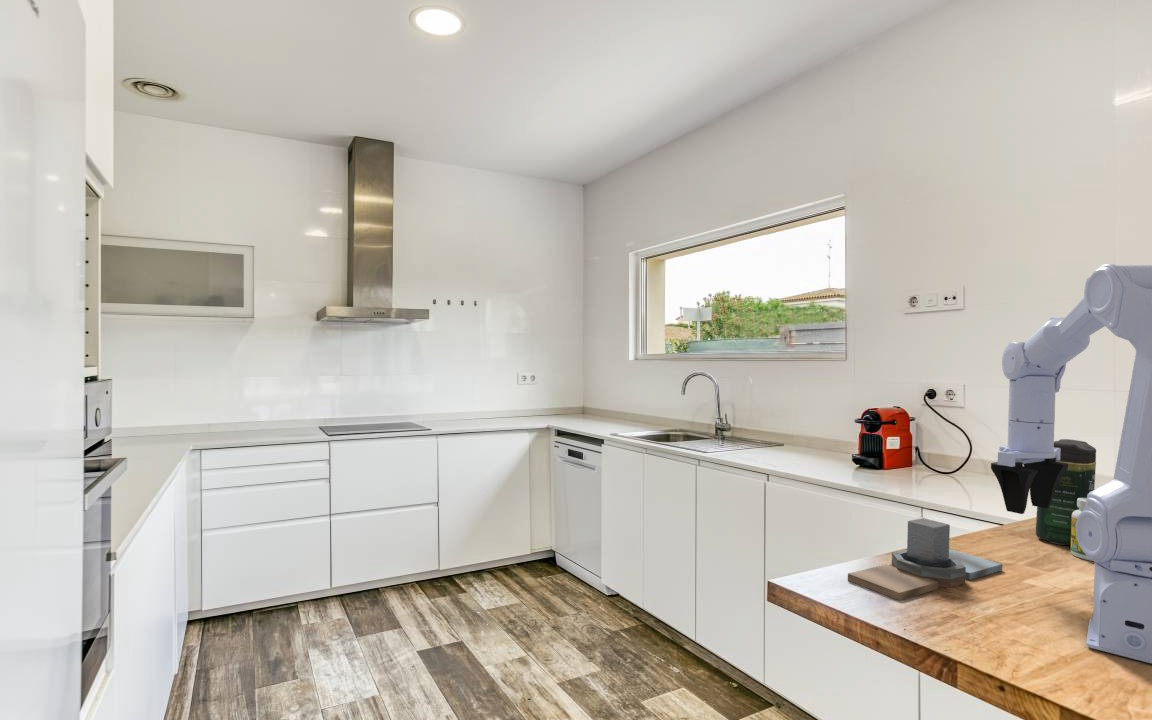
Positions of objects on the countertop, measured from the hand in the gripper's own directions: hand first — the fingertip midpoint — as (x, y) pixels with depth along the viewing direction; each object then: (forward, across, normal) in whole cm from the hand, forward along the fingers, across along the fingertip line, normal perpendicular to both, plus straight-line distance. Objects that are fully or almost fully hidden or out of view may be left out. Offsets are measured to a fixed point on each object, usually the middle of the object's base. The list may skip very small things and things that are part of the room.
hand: (1028, 509), depth 94 cm
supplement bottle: (+10, -19, +1) cm, 22 cm away
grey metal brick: (+10, +15, -6) cm, 19 cm away
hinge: (+10, +15, -6) cm, 19 cm away
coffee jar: (+10, -26, -6) cm, 29 cm away
